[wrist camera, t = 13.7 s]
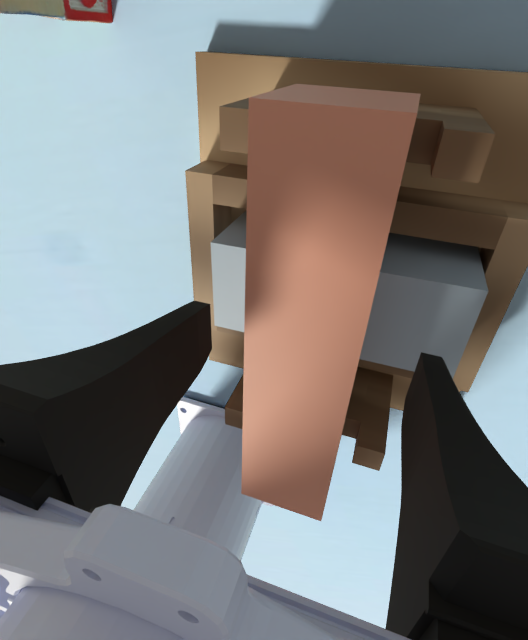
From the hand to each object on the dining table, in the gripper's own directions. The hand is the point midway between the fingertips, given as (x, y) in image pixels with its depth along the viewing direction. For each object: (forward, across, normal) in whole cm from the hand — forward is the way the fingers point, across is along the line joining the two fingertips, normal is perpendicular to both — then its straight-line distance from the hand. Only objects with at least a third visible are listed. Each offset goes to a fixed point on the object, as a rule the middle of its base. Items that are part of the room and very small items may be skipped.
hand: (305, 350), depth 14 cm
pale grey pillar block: (+7, 0, 0) cm, 7 cm away
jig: (+8, 0, 0) cm, 8 cm away
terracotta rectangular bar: (+3, 0, 0) cm, 3 cm away
